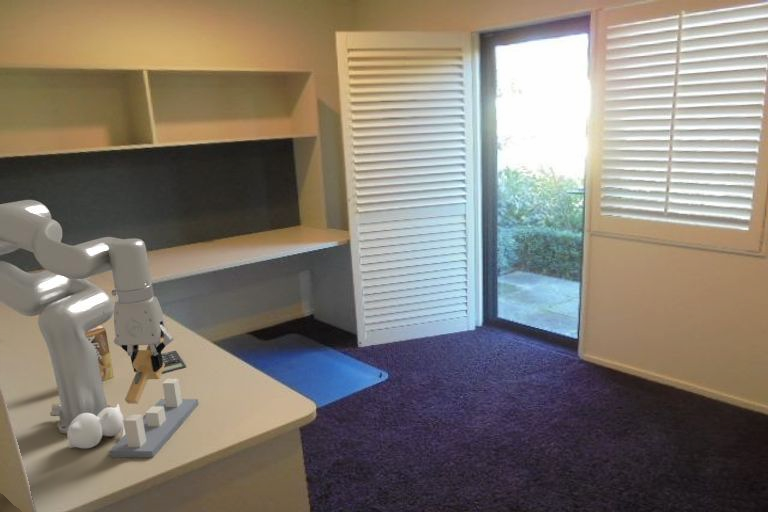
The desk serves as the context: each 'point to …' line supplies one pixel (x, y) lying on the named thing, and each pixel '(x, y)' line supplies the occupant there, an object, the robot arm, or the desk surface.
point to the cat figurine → (95, 427)
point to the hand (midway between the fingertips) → (148, 368)
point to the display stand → (154, 424)
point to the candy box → (101, 350)
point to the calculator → (172, 362)
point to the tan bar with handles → (142, 374)
